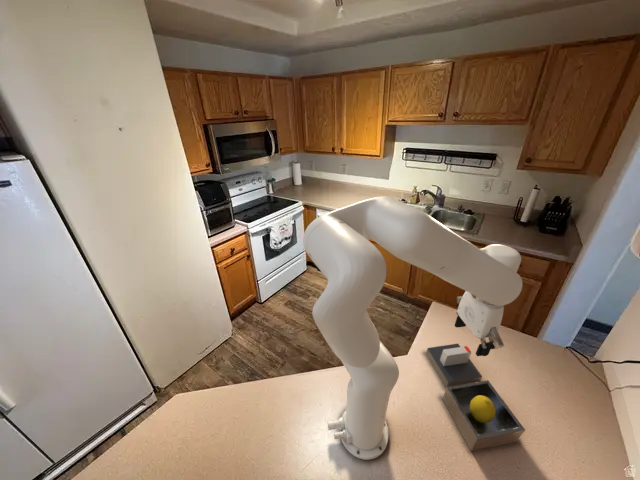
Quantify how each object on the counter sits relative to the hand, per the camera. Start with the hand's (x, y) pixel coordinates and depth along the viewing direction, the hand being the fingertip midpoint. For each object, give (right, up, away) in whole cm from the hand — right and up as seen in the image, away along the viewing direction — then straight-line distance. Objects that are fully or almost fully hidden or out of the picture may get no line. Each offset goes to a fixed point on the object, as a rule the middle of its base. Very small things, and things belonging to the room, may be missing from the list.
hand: (470, 339), depth 72 cm
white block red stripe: (0, -10, +9) cm, 14 cm away
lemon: (0, -20, -3) cm, 20 cm away
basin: (0, -20, -3) cm, 21 cm away
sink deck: (0, -13, +11) cm, 17 cm away
